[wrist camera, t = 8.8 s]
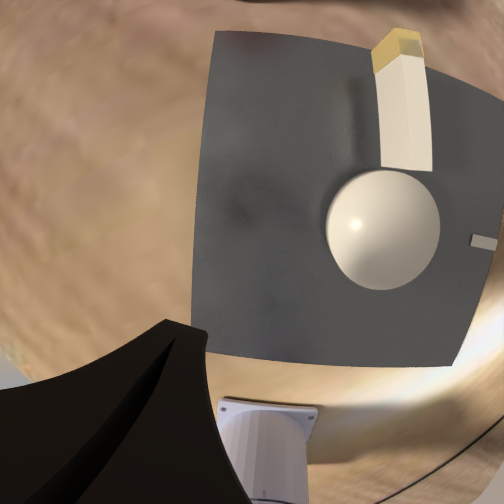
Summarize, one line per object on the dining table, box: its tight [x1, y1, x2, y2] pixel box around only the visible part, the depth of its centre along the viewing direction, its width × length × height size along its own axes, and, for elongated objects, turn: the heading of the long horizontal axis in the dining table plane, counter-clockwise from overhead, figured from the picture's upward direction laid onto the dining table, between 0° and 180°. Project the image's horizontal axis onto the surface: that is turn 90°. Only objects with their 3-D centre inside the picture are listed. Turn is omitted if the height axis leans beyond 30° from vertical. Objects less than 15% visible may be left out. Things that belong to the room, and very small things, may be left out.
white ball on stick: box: [326, 28, 440, 290], centre depth 12 cm, size 12×6×5 cm, turn 3°
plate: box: [191, 31, 504, 367], centre depth 16 cm, size 20×20×2 cm
